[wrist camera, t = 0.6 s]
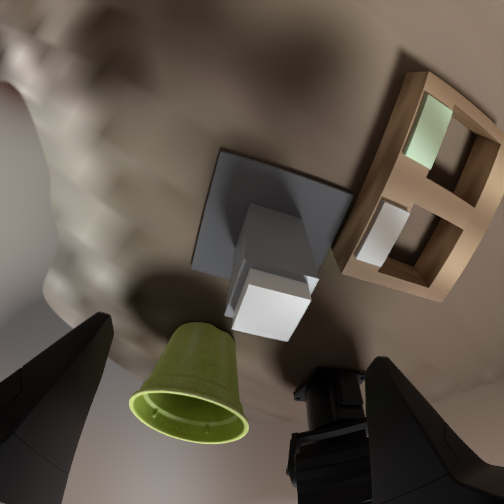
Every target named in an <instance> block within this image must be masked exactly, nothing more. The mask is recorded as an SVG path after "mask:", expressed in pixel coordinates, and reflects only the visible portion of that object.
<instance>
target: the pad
mask: <svg viewBox="0 0 504 504" xmlns="http://www.w3.org/2000/svg"><path fill="white" fill-rule="evenodd" d="M353 197H354V196H353V194H352V193H349V192H347V191H344V190H341V189H339V188H336V187H333V186H331V185H328V184H325V183H323V182H320V181H317V180H314V179H311V178H309V177H306V176H303V175H300V174H297V173H294V172H291V171H288V170H285V169H282V168H279V167H276V166H273V165H270V164H266V163H263V162H260V161H257V160H253V159H250V158H247V157H243V156H240V155H236V154H233V153H229V152H226V151H221V152H220V156H219V159H218V163H217V167H216V170H215V174H214V177H213V181H212V185H211V189H210V192H209V196H208V200H207V204H206V208H205V212H204V216H203V220H202V224H201V228H200V232H199V236H198V241H197V245H196V249H195V253H194V258H193V262H192V267H191V269H192V270H196V271H199V272H203V273H206V274H210V275H214V276H217V277H221V278H224V279H228V280H230V277H231V271H232V265H233V259H234V253H235V248H236V245H237V242H238V238H239V235H240V232H241V229H242V226H243V223H244V220H245V217H246V214H247V211H248V208H249V205H250V203H252V204H256V205H259V206H262V207H266V208H269V209H272V210H275V211H279V212H282V213H285V214H288V215H291V216H295V217H298V218H301V219H302V220H303V223H304V227H305V230H306V234H307V237H308V240H309V244H310V247H311V251H312V254H313V258H314V261H315V265H316V269H317V272H318V270H319V268H320V266H321V264H322V262H323V260H324V258H325V256H326V254H327V252H328V250H329V248H330V246H331V244H332V242H333V240H334V238H335V236H336V234H337V231H338V229H339V227H340V225H341V223H342V221H343V219H344V217H345V214H346V212H347V210H348V208H349V206H350V203H351V201H352V199H353Z"/></svg>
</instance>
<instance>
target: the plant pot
mask: <svg viewBox="0 0 504 504" xmlns="http://www.w3.org/2000/svg"><path fill="white" fill-rule="evenodd" d="M129 406H130V409H131V411H132V412H133V413H134V414H135V416H136V417H137V418H138V419H139V420H140V421H142V422H143V423H144V424H146V425H147V426H149V427H151V428H153V429H154V430H156V431H158V432H160V433H163V434H165V435H168V436H170V437H173V438H177V439H181V440H185V441H189V442H195V443H203V444H219V443H227V442H232V441H235V440H238V439H240V438H242V437H243V436H244V435H246V433H247V432H248V430H249V423H248V420H247V418H246V416H245V415H244V414H243V407H242V405H241V403H240V400H239V389H238V376H237V362H236V346H235V342H234V340H233V338H232V337H231V336H230V335H229V334H228V333H227V332H224V331H221V330H219V329H217V328H216V327H215V326H213V325H212V324H208V323H203V322H191V323H186V324H183V325H181V326H180V327H179V328H178V329H177V330H176V331H175V332H174V333H173V335H172V337H171V338H170V340H169V342H168V344H167V346H166V348H165V350H164V351H163V353H162V355H161V357H160V359H159V361H158V363H157V364H156V366H155V368H154V370H153V372H152V374H151V375H150V377H149V379H148V380H146V381H145V382H144V383H143V385H142V387H141V388H140V390H138V391H136V392H135V393H133V394H132V396H131V398H130V400H129Z"/></svg>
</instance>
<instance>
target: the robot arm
mask: <svg viewBox="0 0 504 504" xmlns="http://www.w3.org/2000/svg"><path fill="white" fill-rule="evenodd" d="M113 336H114V330H113V324H112V319H111V316H110V314H107V313H104V312H97V313H95V314H94V315H93V316H91V317H90V318H88V319H87V320H85V321H84V322H83V323H81V324H80V325H78V326H77V327H75V328H74V329H73V330H71V331H70V332H68V333H67V334H66V335H65V336H63V337H61V338H60V339H59V340H57V341H56V342H55V343H53V344H52V345H50V346H49V347H48V348H46V349H45V350H44V351H42V352H41V353H40V354H38V355H37V356H36V357H34V358H33V359H32V360H30V361H29V362H27V363H26V364H25V365H24V366H23V367H22V368H20V369H18V370H17V371H15V372H14V373H13V374H11V375H10V376H9V377H7V378H6V379H5V380H3V381H2V382H0V504H61V503H62V499H63V495H64V490H65V487H66V483H67V479H68V474H69V472H70V468H71V464H72V461H73V458H74V455H75V451H76V448H77V445H78V442H79V439H80V436H81V432H82V429H83V427H84V424H85V421H86V418H87V415H88V412H89V410H90V407H91V404H92V401H93V399H94V396H95V393H96V391H97V388H98V386H99V383H100V380H101V378H102V374H103V371H104V368H105V364H106V360H107V357H108V353H109V350H110V346H111V343H112V340H113ZM364 380H365V396H366V417H365V415H364V410H363V399H362V394H361V390H360V386H359V385H360V384H361V383H362V382H363V381H364ZM294 400H296V401H305V402H306V407H307V418H308V430H309V431H306V432H301V433H292V438H291V440H290V450H289V459H288V466H287V469H286V474H287V475H288V476H289V477H290V479H291V482H292V484H293V486H294V487H297V492H298V504H504V467H500V466H494V465H490V464H488V463H486V462H484V461H483V460H482V459H481V458H480V457H478V456H477V455H476V454H475V453H474V452H473V451H472V450H471V449H470V448H469V447H468V446H467V445H466V444H465V443H464V442H463V441H462V440H461V439H460V438H459V437H458V436H457V434H456V433H455V432H454V431H453V430H452V429H451V428H450V427H449V425H448V424H447V423H446V422H444V420H443V419H442V417H441V416H440V415H439V414H438V413H437V412H436V410H435V409H434V408H433V407H432V406H431V405H430V404H429V403H428V401H427V400H426V399H425V398H424V397H423V396H422V395H421V393H420V392H419V391H418V390H417V389H416V388H415V387H414V386H413V384H412V383H411V382H410V381H409V380H408V379H407V378H406V377H405V376H404V374H403V373H402V372H401V371H400V370H399V369H398V368H397V367H396V366H395V364H394V363H393V362H392V361H391V360H390V359H389V358H388V357H384V356H378V357H376V358H375V359H374V360H373V362H372V363H371V364H370V366H369V367H368V368H367V370H366V372H365V373H361V372H352V371H344V370H336V369H329V368H322V367H319V368H316V369H315V370H314V371H313V373H312V374H311V375H310V377H309V378H308V379H307V380H306V382H305V383H304V384H303V385H302V386H301V388H300V389H299V390H298V391H297V393H296V394H295V395H294ZM367 436H369V437H367Z"/></svg>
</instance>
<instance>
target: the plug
mask: <svg viewBox="0 0 504 504" xmlns="http://www.w3.org/2000/svg"><path fill="white" fill-rule="evenodd" d="M318 281H319V276H318V272H317V269H316V265H315V261H314V258H313V254H312V251H311V247H310V244H309V240H308V237H307V234H306V230H305V227H304V223H303V220H302V219H301V218H298V217H295V216H291V215H288V214H285V213H282V212H279V211H275V210H272V209H269V208H266V207H262V206H259V205H256V204H252V203H250V205H249V208H248V211H247V214H246V217H245V220H244V223H243V226H242V229H241V232H240V235H239V238H238V242H237V245H236V248H235V253H234V259H233V265H232V271H231V277H230V283H229V289H228V295H227V301H226V308H225V314H224V316H227V317H231V318H233V323H232V329H233V330H237V331H241V332H245V333H249V334H254V335H258V336H263V337H267V338H272V339H276V340H281V341H286V342H288V340H289V339H290V337H291V335H292V334H293V332H294V330H295V328H296V327H297V325H298V323H299V321H300V320H301V318H302V316H303V314H304V313H305V311H306V309H307V307H308V306H309V304H310V302H311V294H312V292H313V290H314V288H315V286H316V284H317V282H318Z"/></svg>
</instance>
